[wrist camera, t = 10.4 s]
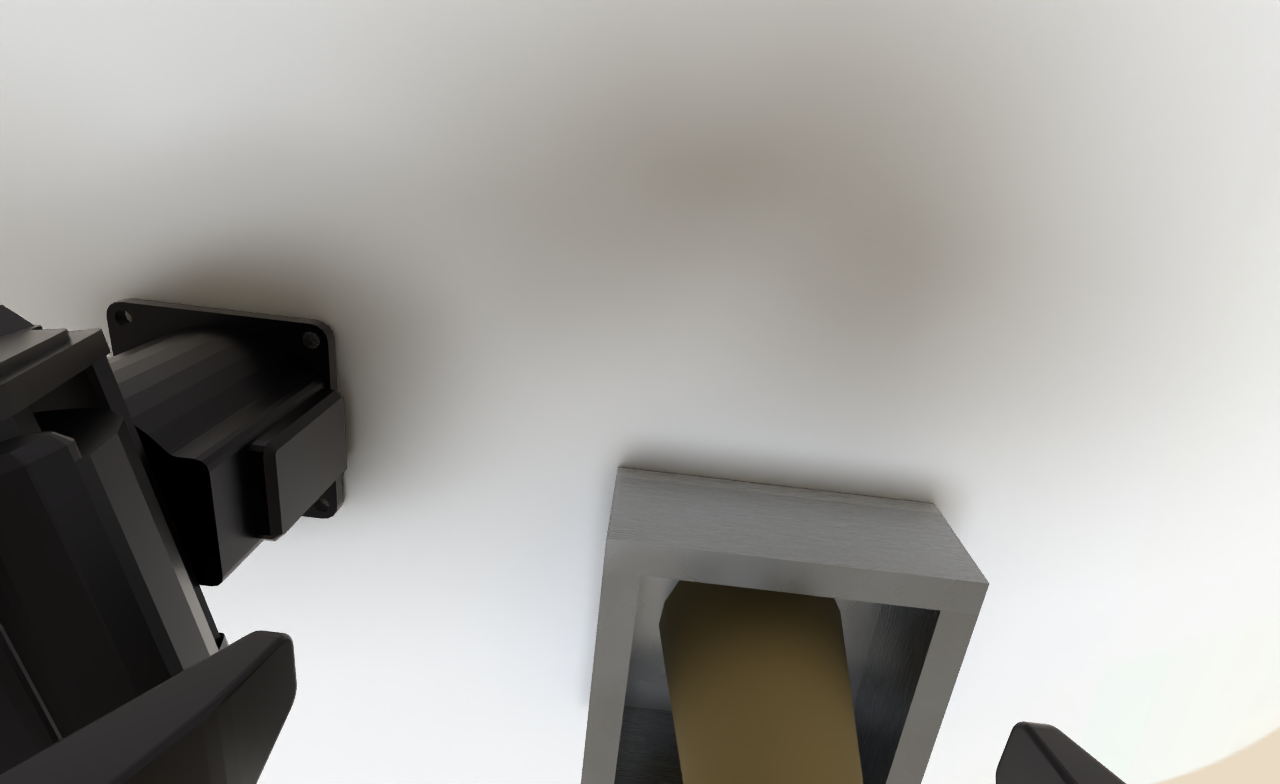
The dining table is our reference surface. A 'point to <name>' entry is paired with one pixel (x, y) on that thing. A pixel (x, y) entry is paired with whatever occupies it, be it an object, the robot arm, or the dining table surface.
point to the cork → (758, 686)
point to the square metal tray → (785, 562)
